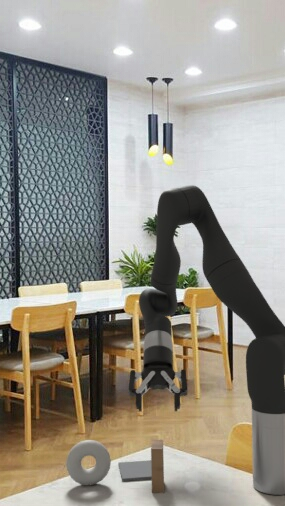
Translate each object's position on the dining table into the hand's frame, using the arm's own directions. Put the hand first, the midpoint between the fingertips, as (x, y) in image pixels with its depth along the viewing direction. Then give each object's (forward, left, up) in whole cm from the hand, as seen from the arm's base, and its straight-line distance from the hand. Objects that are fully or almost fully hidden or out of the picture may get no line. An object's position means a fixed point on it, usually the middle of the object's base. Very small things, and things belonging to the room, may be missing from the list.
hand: (158, 409), depth 144 cm
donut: (+17, +7, -14) cm, 23 cm away
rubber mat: (+5, +1, -14) cm, 15 cm away
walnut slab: (+2, +11, -14) cm, 18 cm away
